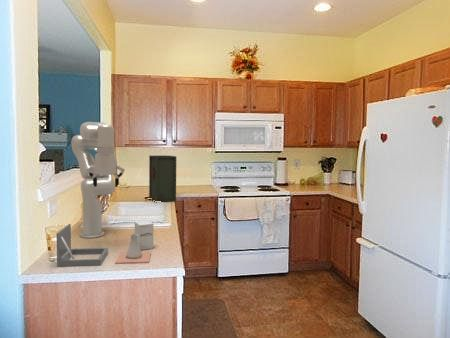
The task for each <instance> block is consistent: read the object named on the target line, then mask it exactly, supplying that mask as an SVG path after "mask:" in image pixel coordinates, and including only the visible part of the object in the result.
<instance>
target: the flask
mask: <svg viewBox="0 0 450 338" xmlns="http://www.w3.org/2000/svg"><path fill="white" fill-rule="evenodd" d="M137 235H138V234H135V233H131V234H130V235H129V237H130V242H129V246H128V249H127V251H126V252H127V255H126V258H130V259H135V258H139V257H142V253H141V252H142V250H140V248H139V245H138V241H137Z"/></svg>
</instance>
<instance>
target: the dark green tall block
mask: <svg viewBox="0 0 450 338" xmlns="http://www.w3.org/2000/svg"><path fill="white" fill-rule="evenodd" d="M148 157H149V159H148V160H149V162H148V166H149V167H148V169H149V170H148V171H149V173H148V174H149V177H148V178H149V182H148V185H149V186H148V189H149V191H148V193H149V194H148V195H149V197H148V199H149V198H152V199H154V200H155V201H161V202H163V203H174V202H176V203H177V156H176V155H148ZM149 201H151V199H150V200H149ZM155 201H154V202H153V200H152V201H151V202H153V203H155ZM155 204H158V203H157V202H156V203H155Z"/></svg>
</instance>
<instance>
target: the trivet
mask: <svg viewBox="0 0 450 338" xmlns="http://www.w3.org/2000/svg"><path fill="white" fill-rule="evenodd" d="M127 252H128V251H120V252H119V254H118V256H117V258H116V260H115V265H124V264H125V265H127V264H129V265H130V264H149V263H150V259H151V254H152V251H150V250H149V251H141V253H142V257H139V258H135V259H130V258H126V255H127Z"/></svg>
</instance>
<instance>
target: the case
mask: <svg viewBox="0 0 450 338" xmlns="http://www.w3.org/2000/svg"><path fill="white" fill-rule="evenodd" d="M71 227H72V225H71V223H68V224H67V225H65V226H64V227H63V228H62V229H61V230H59V231H57V232H56V267H57V268H59V267H61V268H63V267H87V266H88V267H91V266H92V267H93V266H94V267H95V266H101V265H102V264H103V262H104V260H105V258H107V256H108V254H109V247H91V248H86V247H85V248H72V236H71V235H72V233H71V231H72V230H71V229H72V228H71ZM75 255H76V256H77V255H100V256H99V257H97V258H87V259H85V258H84V259H83V258H81V259H79V258H77V259H76V258H75ZM71 258H72V259H71Z"/></svg>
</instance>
